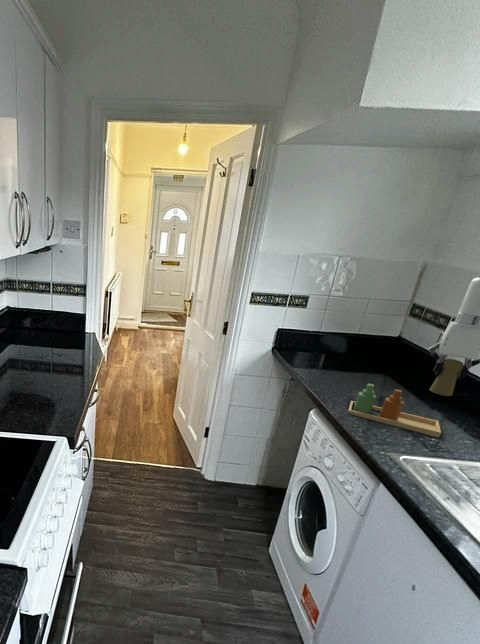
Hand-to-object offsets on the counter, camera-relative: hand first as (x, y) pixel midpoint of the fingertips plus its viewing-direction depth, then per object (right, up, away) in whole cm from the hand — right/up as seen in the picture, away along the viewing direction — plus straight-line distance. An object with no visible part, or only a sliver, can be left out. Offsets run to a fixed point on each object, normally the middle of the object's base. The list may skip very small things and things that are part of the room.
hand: (447, 375), depth 132 cm
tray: (-5, -15, +19) cm, 25 cm away
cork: (0, -5, +2) cm, 6 cm away
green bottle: (-13, -12, +23) cm, 29 cm away
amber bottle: (-6, -14, +19) cm, 25 cm away
